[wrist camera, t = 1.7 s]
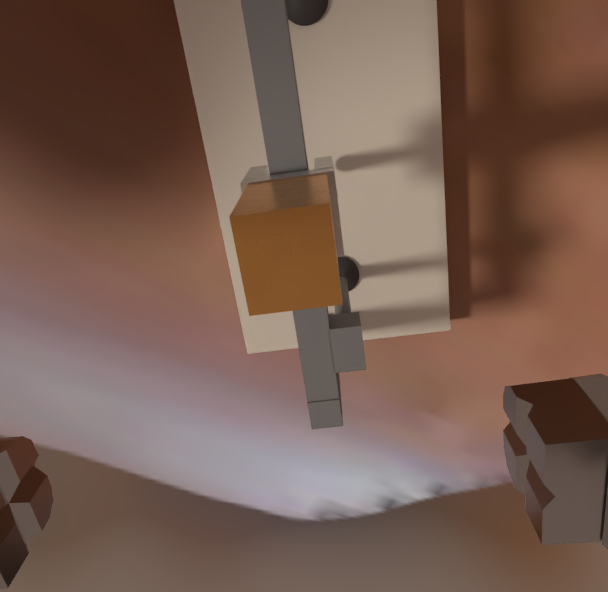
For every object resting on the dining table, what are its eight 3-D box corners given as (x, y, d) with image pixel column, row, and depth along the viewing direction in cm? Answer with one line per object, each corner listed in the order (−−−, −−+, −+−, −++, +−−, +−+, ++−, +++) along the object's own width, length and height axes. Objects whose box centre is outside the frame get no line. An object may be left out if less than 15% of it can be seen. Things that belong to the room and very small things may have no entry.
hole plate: (250, 343, 39) (224, 449, 28) (153, -127, 28) (53, -243, 18) (445, 320, 38) (496, 421, 27) (422, -177, 27) (492, -332, 17)
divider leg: (273, 206, 33) (240, 318, 19) (263, 146, 32) (219, 216, 17) (337, 197, 33) (354, 304, 18) (330, 136, 31) (342, 199, 17)
